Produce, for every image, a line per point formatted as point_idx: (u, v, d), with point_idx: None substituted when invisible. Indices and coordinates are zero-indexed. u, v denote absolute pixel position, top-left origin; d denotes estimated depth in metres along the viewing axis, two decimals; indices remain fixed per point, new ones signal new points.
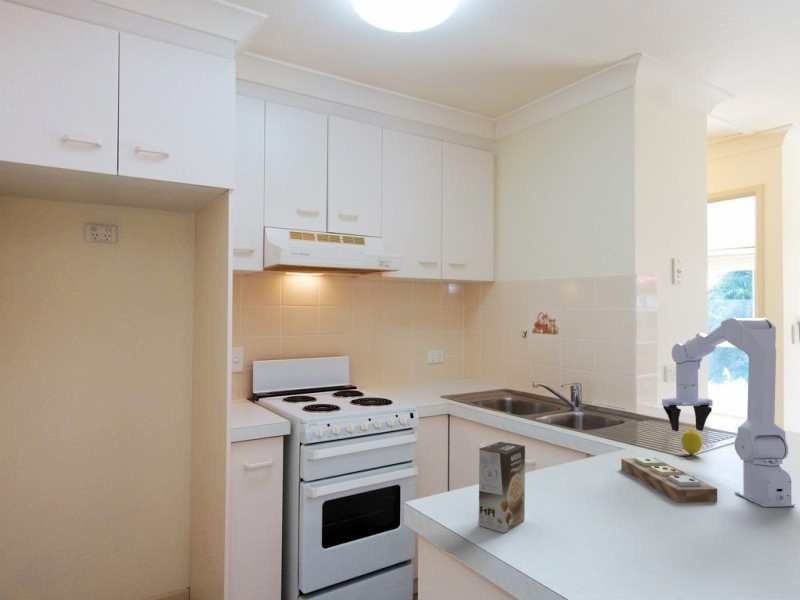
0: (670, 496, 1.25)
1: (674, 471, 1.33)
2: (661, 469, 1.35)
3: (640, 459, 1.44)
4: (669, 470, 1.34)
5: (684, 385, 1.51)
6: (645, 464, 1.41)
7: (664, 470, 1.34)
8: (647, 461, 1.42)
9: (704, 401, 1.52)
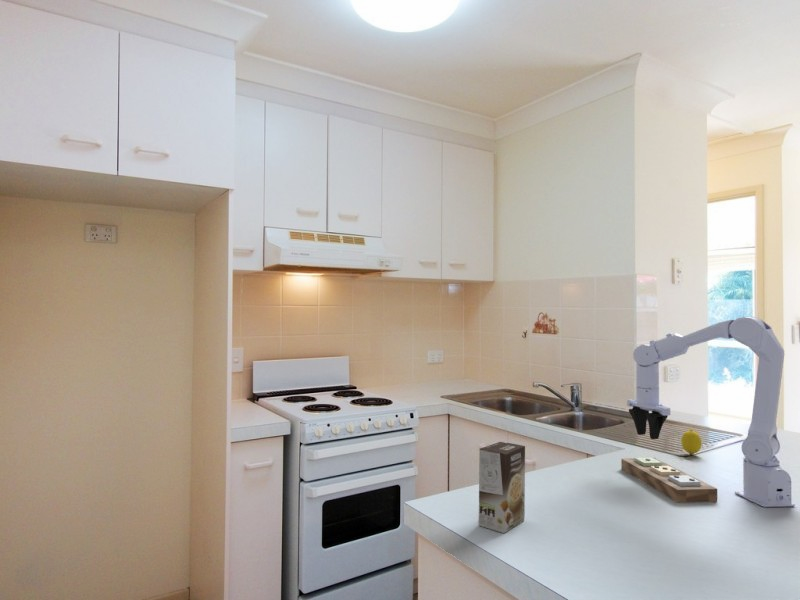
0: (670, 496, 1.25)
1: (674, 471, 1.33)
2: (661, 469, 1.35)
3: (640, 459, 1.44)
4: (669, 470, 1.34)
5: None
6: (645, 464, 1.41)
7: (664, 470, 1.34)
8: (647, 461, 1.42)
9: (653, 407, 1.39)
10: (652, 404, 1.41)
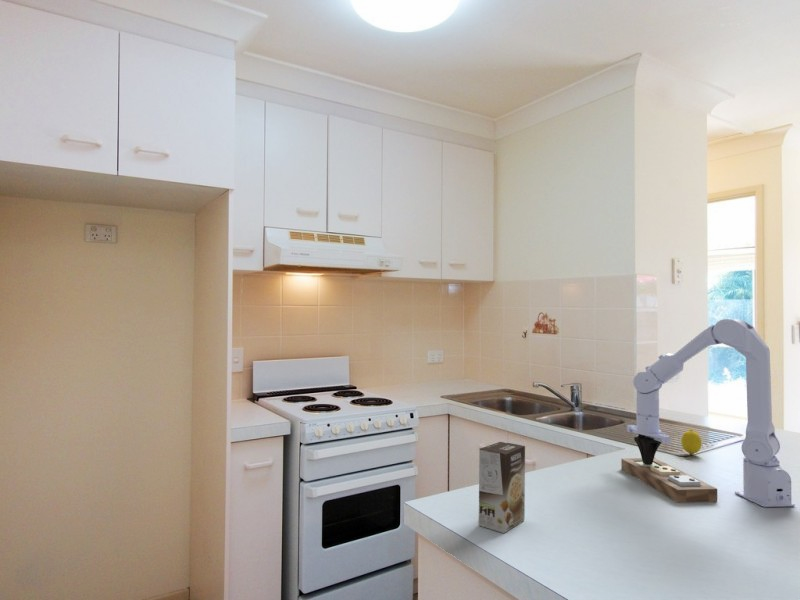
0: (670, 496, 1.25)
1: (674, 471, 1.33)
2: (661, 469, 1.35)
3: (640, 463, 1.44)
4: (669, 470, 1.34)
5: None
6: None
7: (664, 470, 1.34)
8: (647, 465, 1.42)
9: (653, 435, 1.39)
10: (652, 432, 1.41)
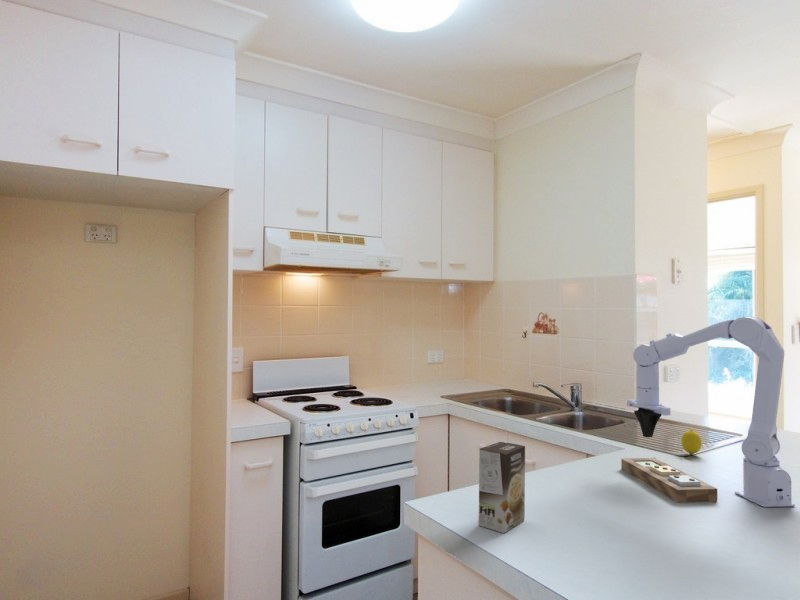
0: (670, 496, 1.25)
1: (674, 471, 1.33)
2: (661, 469, 1.35)
3: (640, 463, 1.44)
4: (669, 470, 1.34)
5: None
6: None
7: (664, 470, 1.34)
8: (647, 465, 1.42)
9: (653, 407, 1.39)
10: (652, 404, 1.41)
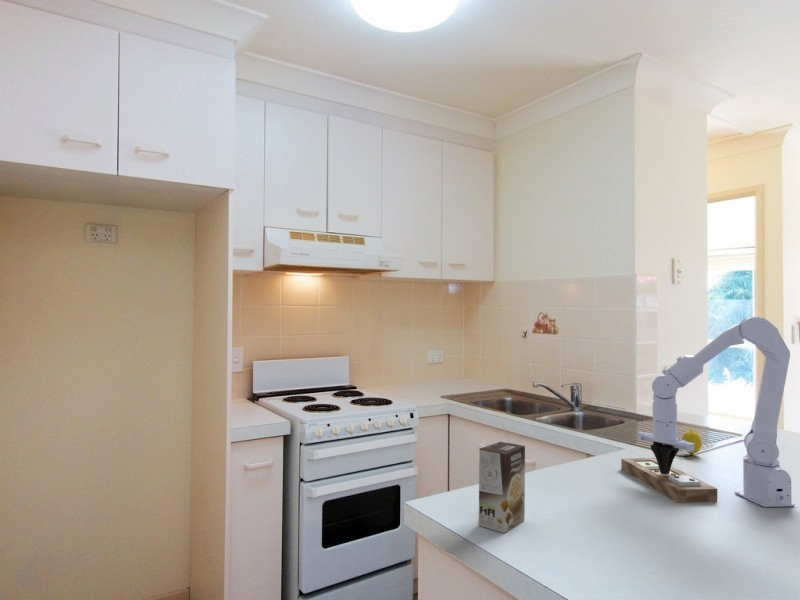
0: (670, 496, 1.25)
1: (674, 475, 1.33)
2: (661, 473, 1.35)
3: (640, 463, 1.44)
4: (669, 474, 1.34)
5: None
6: None
7: (664, 474, 1.34)
8: (647, 465, 1.42)
9: (676, 443, 1.31)
10: (672, 439, 1.33)
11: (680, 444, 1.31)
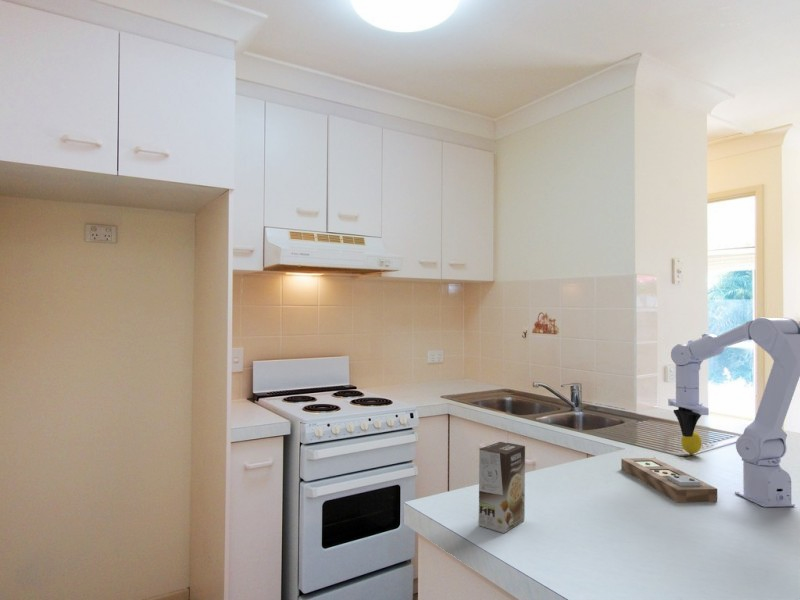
0: (670, 496, 1.25)
1: (674, 475, 1.33)
2: (661, 473, 1.35)
3: (640, 463, 1.44)
4: (669, 474, 1.34)
5: None
6: None
7: (664, 474, 1.34)
8: (647, 465, 1.42)
9: (691, 407, 1.40)
10: (691, 404, 1.42)
11: (695, 408, 1.39)
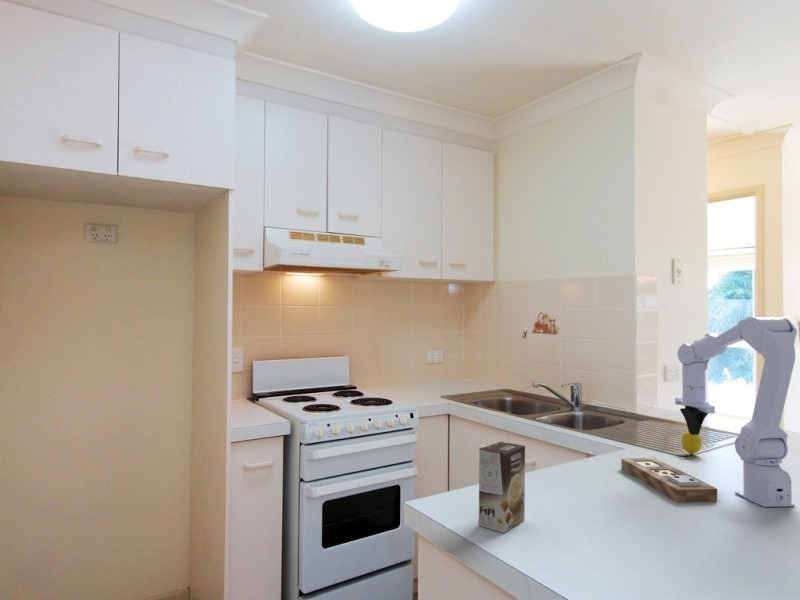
0: (670, 496, 1.25)
1: (674, 475, 1.33)
2: (661, 473, 1.35)
3: (640, 463, 1.44)
4: (669, 474, 1.34)
5: None
6: None
7: (664, 474, 1.34)
8: (647, 465, 1.42)
9: (698, 405, 1.43)
10: (697, 402, 1.44)
11: (701, 406, 1.42)
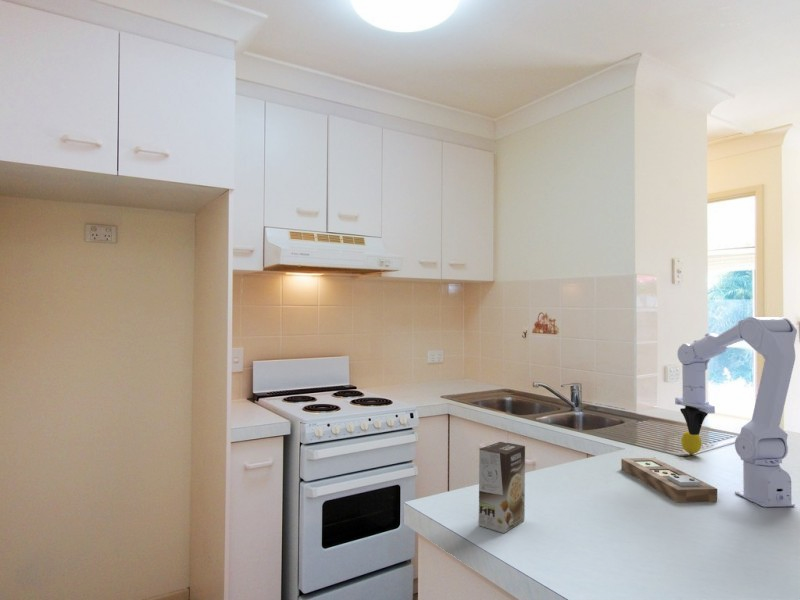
0: (670, 496, 1.25)
1: (674, 475, 1.33)
2: (661, 473, 1.35)
3: (640, 463, 1.44)
4: (669, 474, 1.34)
5: None
6: None
7: (664, 474, 1.34)
8: (647, 465, 1.42)
9: (698, 405, 1.43)
10: (697, 402, 1.44)
11: (701, 406, 1.42)
